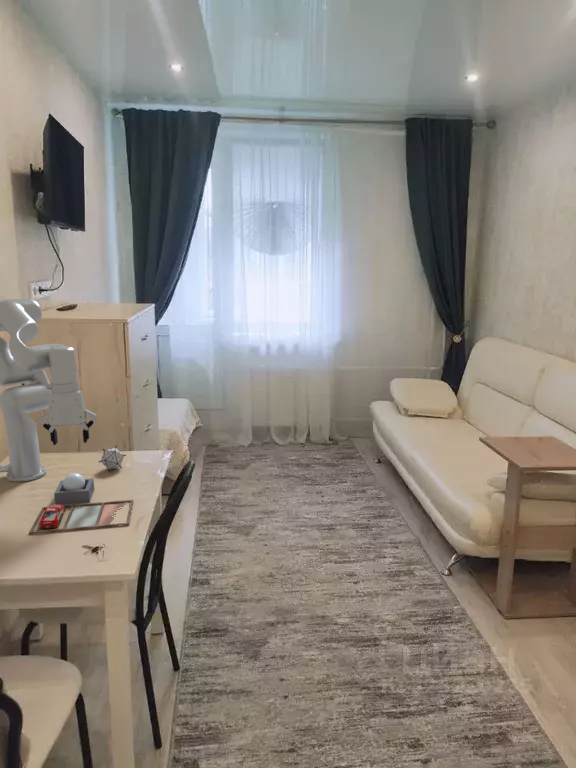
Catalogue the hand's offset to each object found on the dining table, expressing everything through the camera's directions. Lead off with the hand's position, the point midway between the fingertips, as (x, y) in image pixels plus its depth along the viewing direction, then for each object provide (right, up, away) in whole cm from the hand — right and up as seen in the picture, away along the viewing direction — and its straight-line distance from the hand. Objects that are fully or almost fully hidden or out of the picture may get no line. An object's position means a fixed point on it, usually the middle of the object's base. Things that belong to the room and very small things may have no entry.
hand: (70, 442), depth 169 cm
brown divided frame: (+8, -21, -10) cm, 24 cm away
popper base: (0, -18, +4) cm, 18 cm away
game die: (+4, -13, +28) cm, 31 cm away
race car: (-1, -22, -11) cm, 24 cm away
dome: (0, -16, +4) cm, 17 cm away
